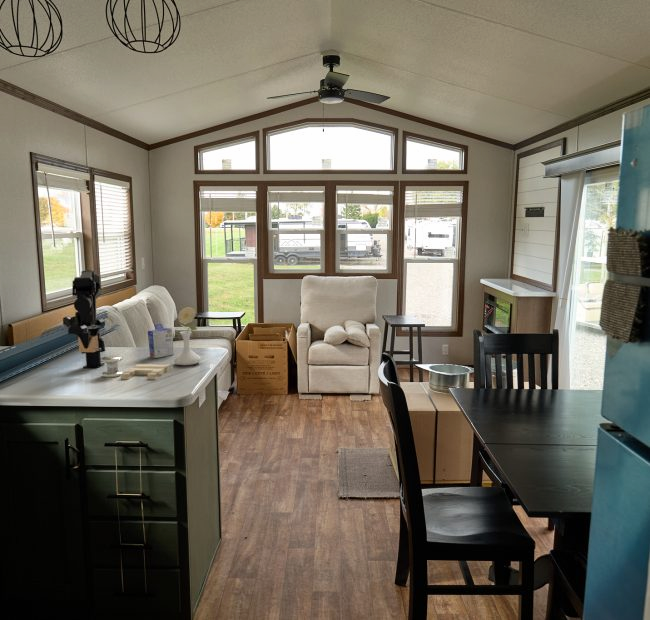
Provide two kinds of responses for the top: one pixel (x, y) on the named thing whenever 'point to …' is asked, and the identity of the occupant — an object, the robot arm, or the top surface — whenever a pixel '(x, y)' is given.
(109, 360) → the bobbin
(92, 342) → the wooden block
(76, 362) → the top surface
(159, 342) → the ink cartridge box
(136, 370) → the notched board
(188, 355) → the flower in vase
